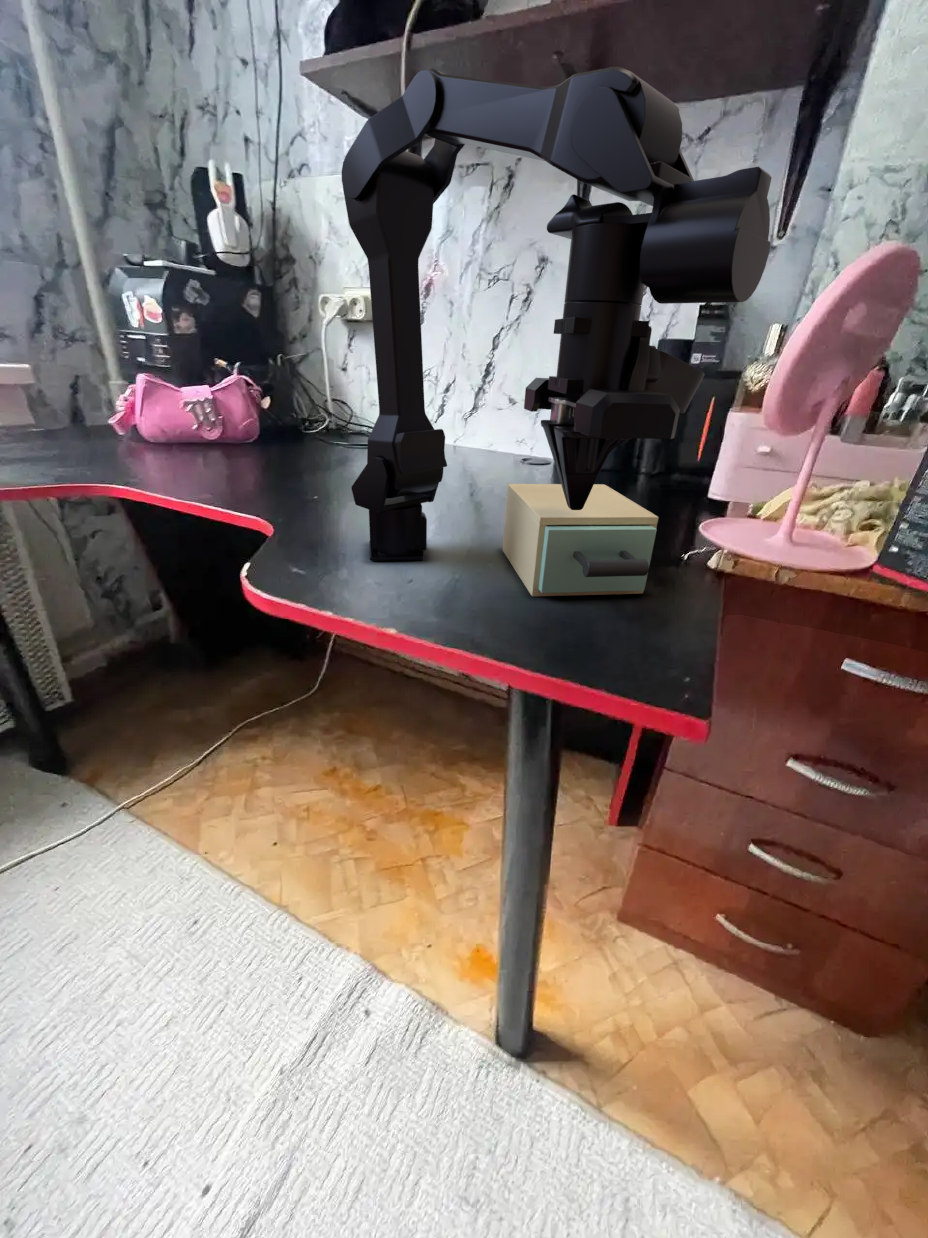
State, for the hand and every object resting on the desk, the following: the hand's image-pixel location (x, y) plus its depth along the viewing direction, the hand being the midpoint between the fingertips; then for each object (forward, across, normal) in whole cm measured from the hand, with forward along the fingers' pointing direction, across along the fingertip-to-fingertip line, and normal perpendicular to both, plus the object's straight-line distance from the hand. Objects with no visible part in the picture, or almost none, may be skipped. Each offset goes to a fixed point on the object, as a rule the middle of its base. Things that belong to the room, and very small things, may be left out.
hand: (575, 509), depth 48 cm
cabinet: (+11, +13, -5) cm, 18 cm away
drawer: (+10, +9, -5) cm, 14 cm away
